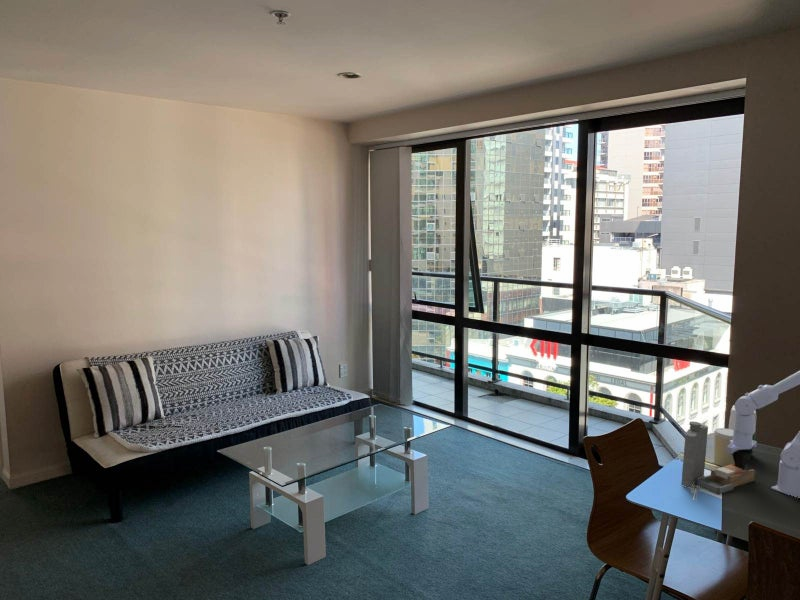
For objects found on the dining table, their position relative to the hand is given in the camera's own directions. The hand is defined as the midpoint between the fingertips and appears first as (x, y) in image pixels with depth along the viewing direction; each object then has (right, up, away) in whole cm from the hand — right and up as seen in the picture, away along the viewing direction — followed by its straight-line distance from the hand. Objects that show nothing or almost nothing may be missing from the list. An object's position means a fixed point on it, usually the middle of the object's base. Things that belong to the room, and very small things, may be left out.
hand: (739, 469), depth 204 cm
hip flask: (-17, -3, -2) cm, 18 cm away
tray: (-13, -4, -8) cm, 15 cm away
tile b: (-7, -1, -4) cm, 9 cm away
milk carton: (+13, -1, +23) cm, 27 cm away
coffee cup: (+3, -2, +13) cm, 14 cm away
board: (-4, -3, -2) cm, 5 cm away
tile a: (-3, -1, -2) cm, 4 cm away
